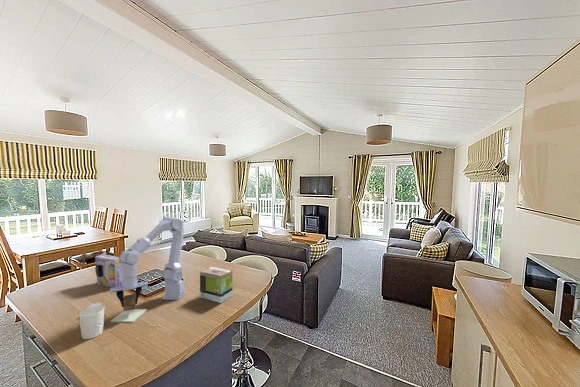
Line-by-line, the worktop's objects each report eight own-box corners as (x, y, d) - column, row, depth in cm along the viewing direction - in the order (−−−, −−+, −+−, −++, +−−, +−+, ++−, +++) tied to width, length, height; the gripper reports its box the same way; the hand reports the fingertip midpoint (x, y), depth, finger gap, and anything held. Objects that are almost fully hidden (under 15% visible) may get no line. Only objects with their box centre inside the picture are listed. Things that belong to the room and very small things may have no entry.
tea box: (232, 295, 131) (233, 270, 131) (220, 304, 122) (220, 276, 121) (212, 290, 138) (212, 265, 137) (199, 297, 128) (199, 271, 128)
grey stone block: (101, 310, 114) (101, 302, 114) (98, 314, 110) (97, 306, 110) (91, 311, 113) (91, 303, 113) (87, 316, 109) (87, 307, 109)
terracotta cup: (107, 314, 110) (107, 305, 110) (100, 319, 106) (100, 310, 106) (99, 314, 111) (99, 305, 110) (91, 319, 107) (91, 309, 106)
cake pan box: (94, 283, 143) (94, 255, 142) (103, 280, 148) (103, 253, 147) (114, 289, 136) (114, 259, 135) (123, 286, 141) (123, 257, 140)
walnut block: (135, 304, 113) (135, 293, 113) (135, 309, 109) (135, 297, 109) (124, 307, 110) (124, 295, 110) (123, 311, 107) (123, 299, 106)
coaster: (147, 310, 115) (147, 309, 115) (133, 322, 105) (133, 321, 105) (126, 309, 115) (126, 308, 115) (111, 321, 105) (111, 320, 105)
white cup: (89, 328, 100) (89, 305, 100) (109, 327, 101) (109, 305, 100) (74, 340, 92) (73, 316, 92) (95, 340, 93) (95, 315, 92)
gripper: (147, 270, 116) (147, 297, 117) (111, 276, 109) (111, 304, 109) (147, 275, 110) (147, 303, 111) (109, 281, 103) (109, 311, 103)
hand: (129, 304), depth 110 cm, fingers closed on walnut block, 4 cm apart
